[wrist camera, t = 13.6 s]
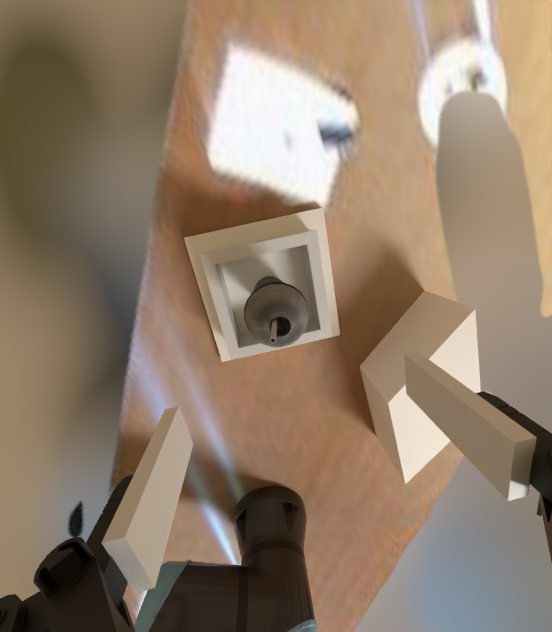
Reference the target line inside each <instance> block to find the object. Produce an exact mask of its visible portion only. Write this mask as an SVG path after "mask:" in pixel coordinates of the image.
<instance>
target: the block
mask: <svg viewBox="0 0 552 632" xmlns="http://www.w3.org/2000/svg"><path fill="white" fill-rule="evenodd" d="M415 351H418V352H419V353H421V354H422V355H423V356H425V357H426V358H428V359H429V360H430V361H432V362H433V363H434V364H436V365H437V366H439V367H440V368H441V369H443V370H444V371H446V372H447V373H448V374H450V375H451V376H452V377H454V378H455V379H457V380H458V381H459V382H461V383H462V384H463V385H465V386H466V387H468V388H469V389H470V390H472V391H473V392H475V393H479V392H481V390H480V375H479V359H478V344H477V328H476V313H475V308H472V307H469V306H466V305H463V304H461V303H458V302H455V301H452V300H450V299H447V298H444V297H441V296H439V295H436V294H433V293H430V292H427V291H425V290H424V291H423V293H422V294H421V295H420V296H419V297H418V298H417V300H416V301H415V302H414V303H413V304H412V305H411V307H410V308H409V309H408V310H407V311H406V312H405V314H404V315H403V316H402V317H401V318H400V320H399V321H398V322H397V323H396V324H395V325H394V327H393V328H392V329H391V330H390V331H389V332H388V334H387V335H386V336H385V337H384V338H383V339H382V341H381V342H380V343H379V344H378V345H377V346H376V348H375V349H374V350H373V351H372V352H371V353H370V355H369V356H368V357H367V358H366V359H365V360H364V362H363V363H362V364H361V365H360V366H359V367H360V371H361V375H362V379H363V383H364V387H365V391H366V396H367V400H368V404H369V408H370V412H371V416H372V420H373V424H374V428H375V433H376V436H377V438H378V440H379V441H380V443H381V445H382V446H383V448H384V450H385V451H386V453H387V455H388V456H389V458H390V460H391V461H392V463H393V465H394V466H395V468H396V470H397V471H398V473H399V475H400V476H401V478H402V480H403V481H404V483H405V484H406V483H407V482H408V481H409V480H410V479H411V478H412V477H413V476H415V475H416V474H417V473H418V472H419V471H420V470H421V469H422V468H423V467H424V466H425V465H426V464H427V463H428V462H429V461H430V460H431V459H432V458H433V457H434V456H435V455H436V454H437V453H438V452H439V451H440V450H441V449H442V448H443V447H444V446H446V445H447V444H448V443H449V442H450V441H451V440H450V439H449V438H448V437H447V436H446V435H445V434H444V433H443V432H442V431H441V430H440V429H439V428H438V427H437V426H436V425H435V424H434V423H433V421H432V420H431V419H430V418H429V417H428V416H427V415H426V414H425V413H424V412H423V411H422V410H421V409H420V408H419V407H418V406H417V405H416V404H415V403H414V402H413V400H412V399H411V398H410V397H409V396H408V395H407V394H406V378H405V359H404V354H406V353H411V352H415Z"/></svg>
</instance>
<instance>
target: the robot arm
mask: <svg viewBox="0 0 552 632" xmlns="http://www.w3.org/2000/svg"><path fill="white" fill-rule="evenodd" d="M404 359H405V378H406V394H407V395H408V396H409V397H410V398H411V399H412V400H413V402H414V403H415V404H416V405H417V406H418V407H419V408H420V409H421V410H422V411H423V412H424V413H425V414H426V415H427V416H428V417H429V418H430V419H431V420H432V421H433V423H434V424H435V425H436V426H437V427H438V428H439V429H440V430H441V431H442V432H443V433H444V434H445V435H446V436H447V437H448V438H449V439H450V440H451V441H452V442H453V444H454V445H455V446H456V447H457V448H458V449H459V450H460V451H461V452H462V453H463V454H464V455H465V456H466V457H467V458H468V459H469V460H470V461H471V462H472V464H473V465H475V467H476V468H477V469H478V470H479V471H480V472H481V473H482V474H483V475H484V476H485V477H486V478H487V479H488V480H489V481H490V482H491V483H492V484H493V485H494V487H495V488H496V489H497V490H498V491H499V492H500V493H501V494H502V495H503V496H504V497H505V498H506V499H507V500H508V501H509V500H513V499H517V498H521V497H525V496H528V492H529V485H530V484H531V485H532V486H533V487H534V488H535V489H537V491H538V492H540V498H539V503H538V509H537V515H539V516H541V514H542V516H543V521H544V526H545V531H546V535H547V541H548V546H549V551H550V556H551V561H552V433H550V432H549V431H547V430H546V429H544V428H543V427H541V426H540V425H538V424H537V423H535V422H534V421H532V420H531V419H529V418H528V417H526V416H525V415H523V414H522V413H519V411H517V410H516V409H515V408H513V407H510V406H509V404H507V403H506V402H504V401H502V400H501V399H500V398H498V397H496V396H494V395H491V394H489V393H486V392H484V391H483V392H479V393H475V392H473V391H472V390H470V389H469V388H468V387H466V386H465V385H463V384H462V383H461V382H459V381H458V380H457V379H455V378H454V377H452V376H451V375H450V374H448V373H447V372H446V371H444V370H443V369H441V368H440V367H439V366H437V365H436V364H434V363H433V362H432V361H430V360H429V359H428V358H426V357H425V356H423V355H422V354H421V353H419V352H418V351H415V352H411V353H406V354H404ZM192 448H193V442H192V439H191V436H190V434H189V431H188V429H187V426H186V424H185V421H184V419H183V416H182V414H181V411H180V409H179V406H178V407H173V408H169V409H165V411H164V413H163V415H162V417H161V419H160V421H159V423H158V425H157V428H156V430H155V432H154V434H153V436H152V438H151V440H150V442H149V444H148V446H147V449H146V451H145V453H144V455H143V457H142V459H141V461H140V463H139V465H138V467H137V469H136V472H135V474H134V475H131V476H127V477H124V479H123V480H122V481H121V482H120V483H119V484H118V485H117V487H116V488H115V489H114V491H113V493H112V495H111V497H110V498H109V500H108V504H106V506H105V508H104V510H103V514H101V516H100V518H99V520H98V521H97V523H96V525H95V527H94V529H93V531H92V533H91V535H90V536H89V538H88V540H87V542H86V543H85V541H84V540H83V539H82V538H81V537H74V538H71V539H68V540H66V541H65V542H63V543H61V544H60V545H58V546H57V547H56V548H55V549H54V550H53V551H51V552H50V553H49V554H48V555H47V557H46V558H45V559H44V560H43V562H42V563H41V564H40V566H39V568H38V569H37V571H36V573H35V577H34V583H35V585H36V586H37V587H38V588H39V589H40V592H38V593H36V594H35V595H33V596H31V597H29V598H27V599H25V600H24V601H21V600H20V599H19V597H18V596H16V594H14V595H7V596H5V597H3V598H1V599H0V632H317V631H316V629H317V624H316V620H315V617H314V611H313V605H312V599H311V593H310V587H309V582H308V576H307V570H306V564H305V558H304V551H303V548H304V539H305V529H306V512H305V507H304V503H303V501H302V499H301V498H300V497H299V496H298V495H297V494H296V493H295V492H293V491H291V490H288V489H285V488H280V487H267V488H262V489H259V490H256V491H253V492H251V493H250V494H248V495H246V496H245V497H244V498H243V499H242V500H241V501H240V502H239V503H238V505H237V507H236V509H235V514H234V530H235V534H236V538H237V542H238V546H239V550H240V554H241V565H229V564H217V563H205V562H193V561H191V560H187V561H169V562H166V563H164V564H163V565H162V566H161V564H162V560H163V556H164V552H165V549H166V545H167V541H168V538H169V534H170V530H171V526H172V523H173V519H174V515H175V511H176V508H177V504H178V500H179V496H180V493H181V489H182V485H183V481H184V478H185V474H186V470H187V466H188V463H189V459H190V455H191V452H192ZM127 584H128V585H129V587H130V588H131V590H132V591H133V593H137V592H141V591H145V590H148V591H147V593H146V596H145V598H144V601H143V604H142V606H141V609H140V611H139V614H138V617H137V619H136V622H135V625H134V626H133V623H132V620H131V617H130V614H129V611H128V608H127V605H126V602H125V601H124V599H123V595H124V592H125V589H126V586H127Z"/></svg>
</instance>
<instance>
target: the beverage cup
mask: <svg viewBox="0 0 552 632" xmlns="http://www.w3.org/2000/svg"><path fill="white" fill-rule="evenodd" d="M308 310H309V309H308V305H307V301H306V299H305V297H304V296H303V295H302V293H301V292H300V291H299V290H298V289H296V288H295V287H294V286H292V285H289V284H286V283H284V282H282V281H281V280H280V279H278V278H276V277H273V276H267V277H264V278H262V279H261V280H259V281H258V283H257V284H256V286H255V289H254V291H253V292H252V294H251V295H250V296H249V298H248V299H247V301H246V304H245V307H244V320H245V323H246V326H247V328H248V330H249V332H250V333H251V334H252V335H253V337H254V338H255V339H256V340H257V341H259V342H260V343H262V344H264V345H267V346H270V347H284V346H287V345H291V344H292V343H294V342H295V341H297V340H298V339H299V338H300V337H301V335H302V334H303V333H304V331H305V329H306V327H307V324H308V314H309V312H308Z"/></svg>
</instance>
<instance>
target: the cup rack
mask: <svg viewBox="0 0 552 632" xmlns="http://www.w3.org/2000/svg"><path fill="white" fill-rule="evenodd" d="M184 241H185V244H186V247H187V250H188V254H189V257H190V260H191V263H192V266H193V270H194V273H195V276H196V279H197V283H198V286H199V289H200V292H201V296H202V299H203V302H204V305H205V308H206V312H207V315H208V318H209V321H210V325H211V328H212V331H213V334H214V337H215V341H216V344H217V347H218V350H219V354H220V357H221V360H222V362H224V361H229V360H233V359H237V358H242V357H246V356H251V355H255V354H259V353H264V352H268V351H273V350H277V349H281V348H286V347H290V346H295V345H299V344H304V343H308V342H312V341H317V340H321V339H326V338H330V337H334V336H339V335H340V329H339V322H338V315H337V307H336V300H335V292H334V285H333V277H332V270H331V262H330V255H329V248H328V240H327V233H326V225H325V218H324V210H323V208H318V209H314V210H309V211H304V212H300V213H295V214H291V215H286V216H281V217H277V218H272V219H268V220H263V221H258V222H254V223H249V224H245V225H240V226H235V227H231V228H226V229H222V230H217V231H213V232H208V233H203V234H199V235H194V236H190V237H185V238H184ZM267 276H273V277H276V278H278V279H280V280H281V281H282V282H284V283H286V284H289V285H292V286H294V287H295V288H296V289H298V290H299V291H300V292H301V293H302V295H303V296H304V297H305V299H306V301H307V305H308V309H309V310H308V312H309V314H308V324H307V327H306V329H305V331H304V333H303V334H302V335H301V337H300V338H299V339H298V340H297V341H295V342H294V343H292V344H291V345H287V346H284V347H270V346H267V345H264V344H262V343H260V342H259V341H257V340H256V339H255V338H254V337H253V335H252V334H251V333H250V332H249V330H248V328H247V326H246V323H245V320H244V307H245V304H246V301H247V299H248V298H249V296H250V295H251V294H252V292H253V291H254V289H255V286H256V284H257V283H258V281H259V280H261V279H262V278H264V277H267Z"/></svg>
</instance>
